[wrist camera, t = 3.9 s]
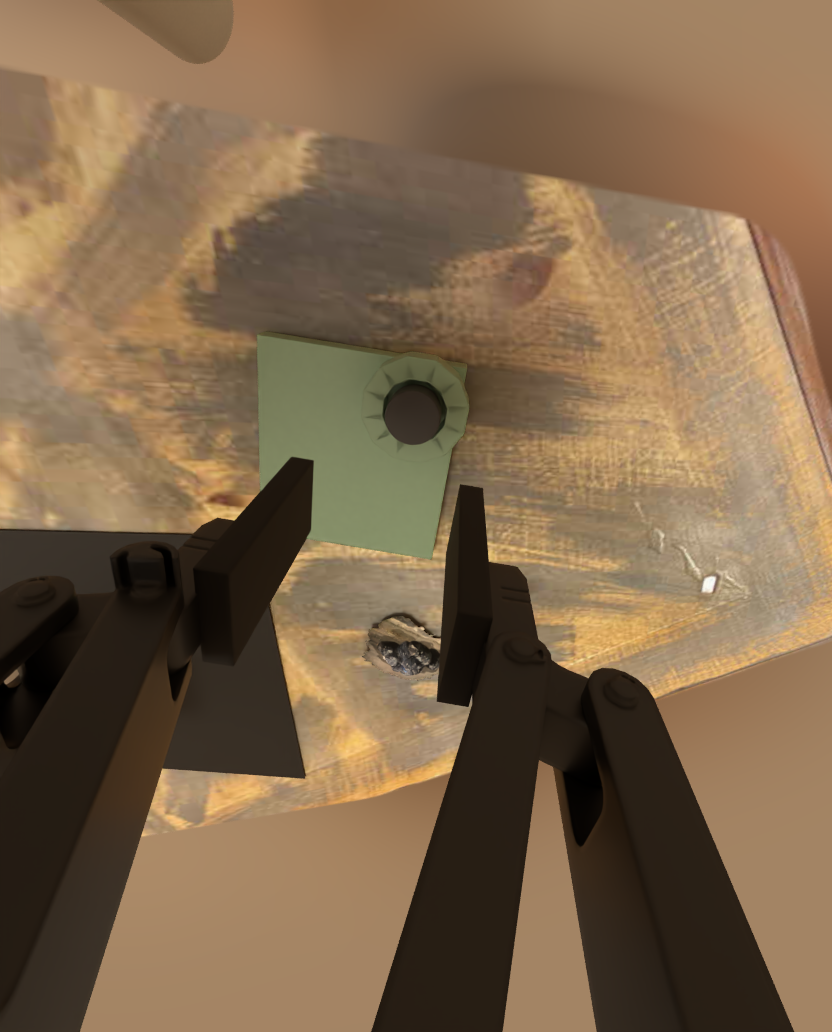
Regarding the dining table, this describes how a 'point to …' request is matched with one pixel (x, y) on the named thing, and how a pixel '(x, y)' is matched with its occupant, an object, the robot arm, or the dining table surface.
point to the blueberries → (403, 649)
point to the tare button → (413, 414)
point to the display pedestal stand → (212, 687)
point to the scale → (358, 438)
